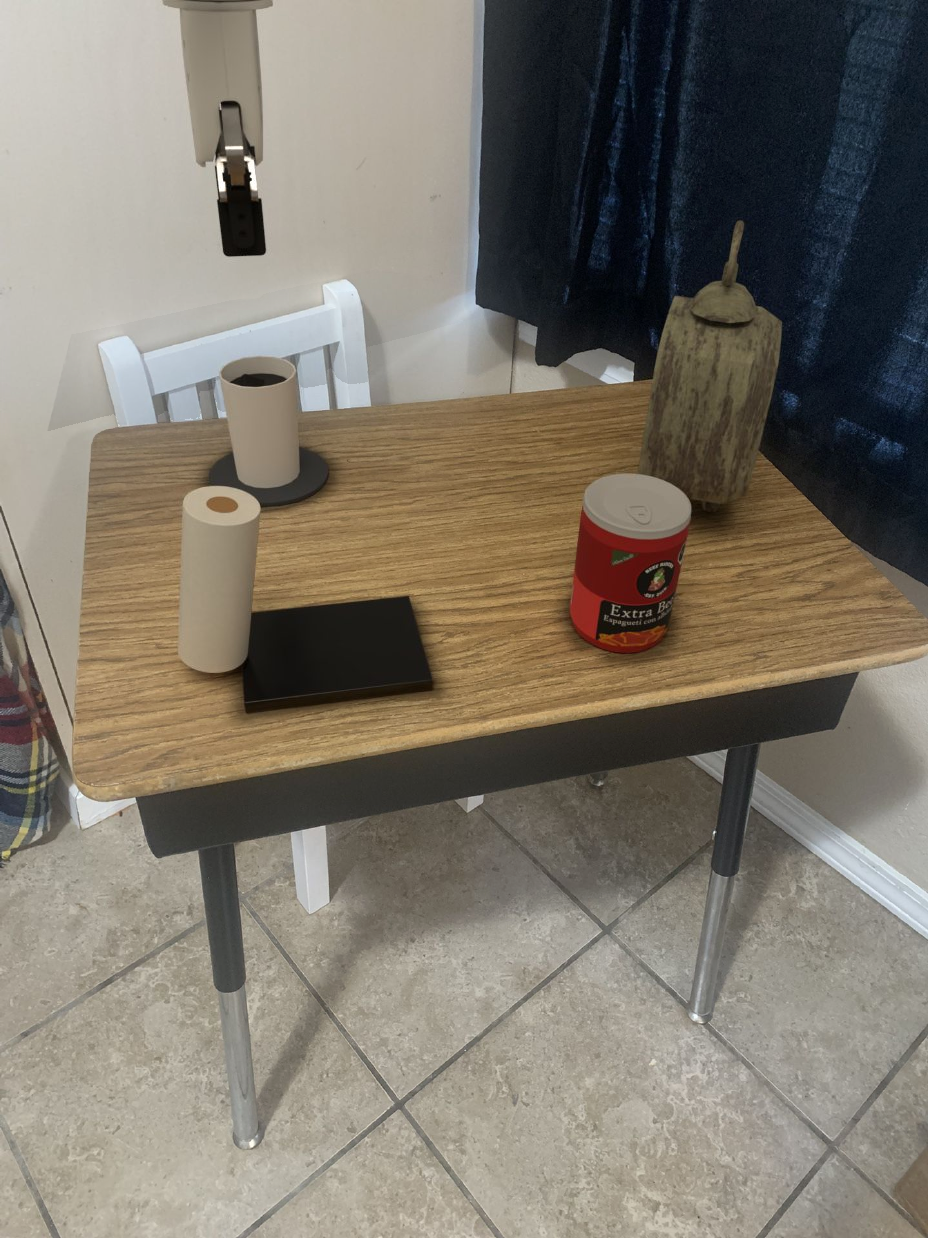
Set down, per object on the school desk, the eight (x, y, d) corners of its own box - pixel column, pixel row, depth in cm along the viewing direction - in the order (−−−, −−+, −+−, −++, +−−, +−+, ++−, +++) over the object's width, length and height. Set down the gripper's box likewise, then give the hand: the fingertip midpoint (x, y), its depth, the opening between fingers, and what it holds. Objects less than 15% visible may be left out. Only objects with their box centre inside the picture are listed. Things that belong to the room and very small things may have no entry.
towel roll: (249, 674, 68) (177, 673, 66) (246, 631, 72) (177, 629, 70) (262, 526, 61) (182, 522, 59) (258, 487, 65) (183, 482, 63)
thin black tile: (245, 713, 67) (243, 703, 66) (240, 623, 74) (238, 613, 74) (433, 690, 69) (433, 679, 68) (409, 605, 77) (409, 595, 76)
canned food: (598, 665, 72) (617, 539, 65) (550, 603, 77) (563, 481, 71) (688, 642, 74) (715, 519, 67) (635, 584, 80) (655, 464, 73)
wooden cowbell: (648, 462, 96) (693, 193, 80) (743, 478, 94) (807, 205, 78) (626, 540, 85) (673, 246, 69) (732, 559, 83) (805, 261, 67)
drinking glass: (229, 491, 88) (215, 388, 82) (234, 455, 94) (221, 356, 87) (304, 489, 89) (295, 386, 83) (304, 453, 94) (296, 354, 88)
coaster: (210, 511, 86) (209, 507, 86) (208, 452, 95) (208, 448, 95) (334, 501, 88) (334, 497, 88) (322, 443, 97) (322, 439, 97)
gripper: (162, -34, 73) (194, 205, 84) (155, -7, 60) (194, 273, 71) (264, -32, 75) (282, 203, 85) (279, -5, 62) (299, 269, 72)
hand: (242, 234), depth 78 cm, fingers open, 9 cm apart
